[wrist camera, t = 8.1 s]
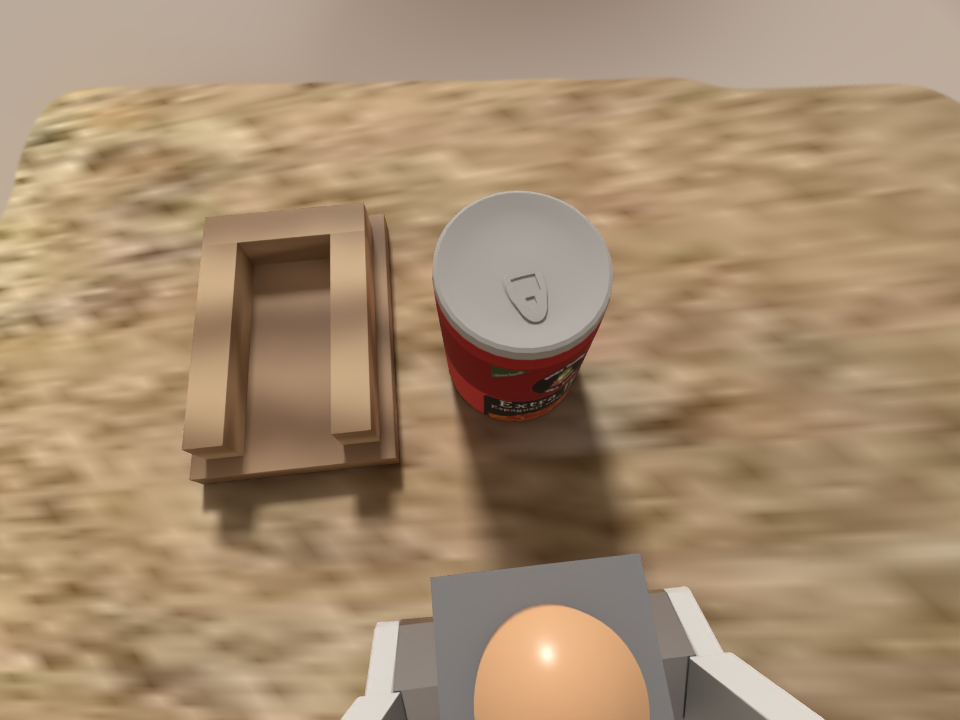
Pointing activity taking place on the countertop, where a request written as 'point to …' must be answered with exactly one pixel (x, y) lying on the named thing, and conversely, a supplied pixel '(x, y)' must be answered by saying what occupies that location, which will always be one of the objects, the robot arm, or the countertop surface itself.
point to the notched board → (292, 346)
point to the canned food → (519, 300)
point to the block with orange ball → (549, 643)
